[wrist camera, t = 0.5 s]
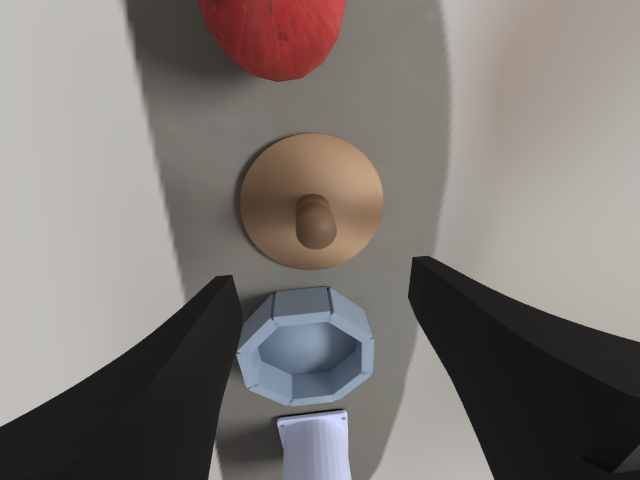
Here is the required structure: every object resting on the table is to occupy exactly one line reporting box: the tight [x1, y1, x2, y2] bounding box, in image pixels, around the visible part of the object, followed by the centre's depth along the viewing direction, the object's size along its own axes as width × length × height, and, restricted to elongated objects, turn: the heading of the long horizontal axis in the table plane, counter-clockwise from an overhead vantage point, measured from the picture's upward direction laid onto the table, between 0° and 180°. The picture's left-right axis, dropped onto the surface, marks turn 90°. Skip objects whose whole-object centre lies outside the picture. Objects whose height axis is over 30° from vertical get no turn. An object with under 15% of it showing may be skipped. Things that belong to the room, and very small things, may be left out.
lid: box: [240, 133, 383, 270], centre depth 17 cm, size 10×10×4 cm
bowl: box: [236, 286, 374, 406], centre depth 23 cm, size 11×11×3 cm
